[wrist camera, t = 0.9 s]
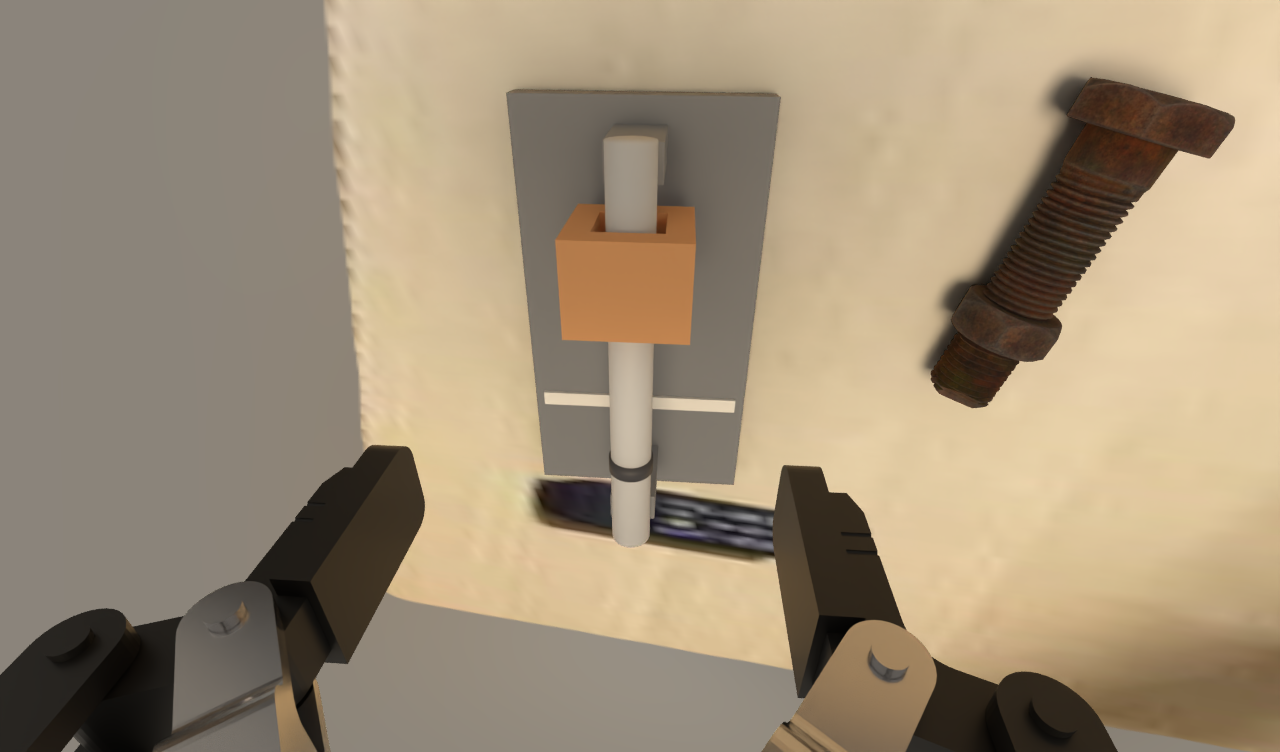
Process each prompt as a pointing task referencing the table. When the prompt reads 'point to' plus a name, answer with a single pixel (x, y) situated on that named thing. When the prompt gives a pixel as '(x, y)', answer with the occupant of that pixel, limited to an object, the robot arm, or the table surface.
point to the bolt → (1070, 230)
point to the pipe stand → (631, 190)
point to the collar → (626, 278)
